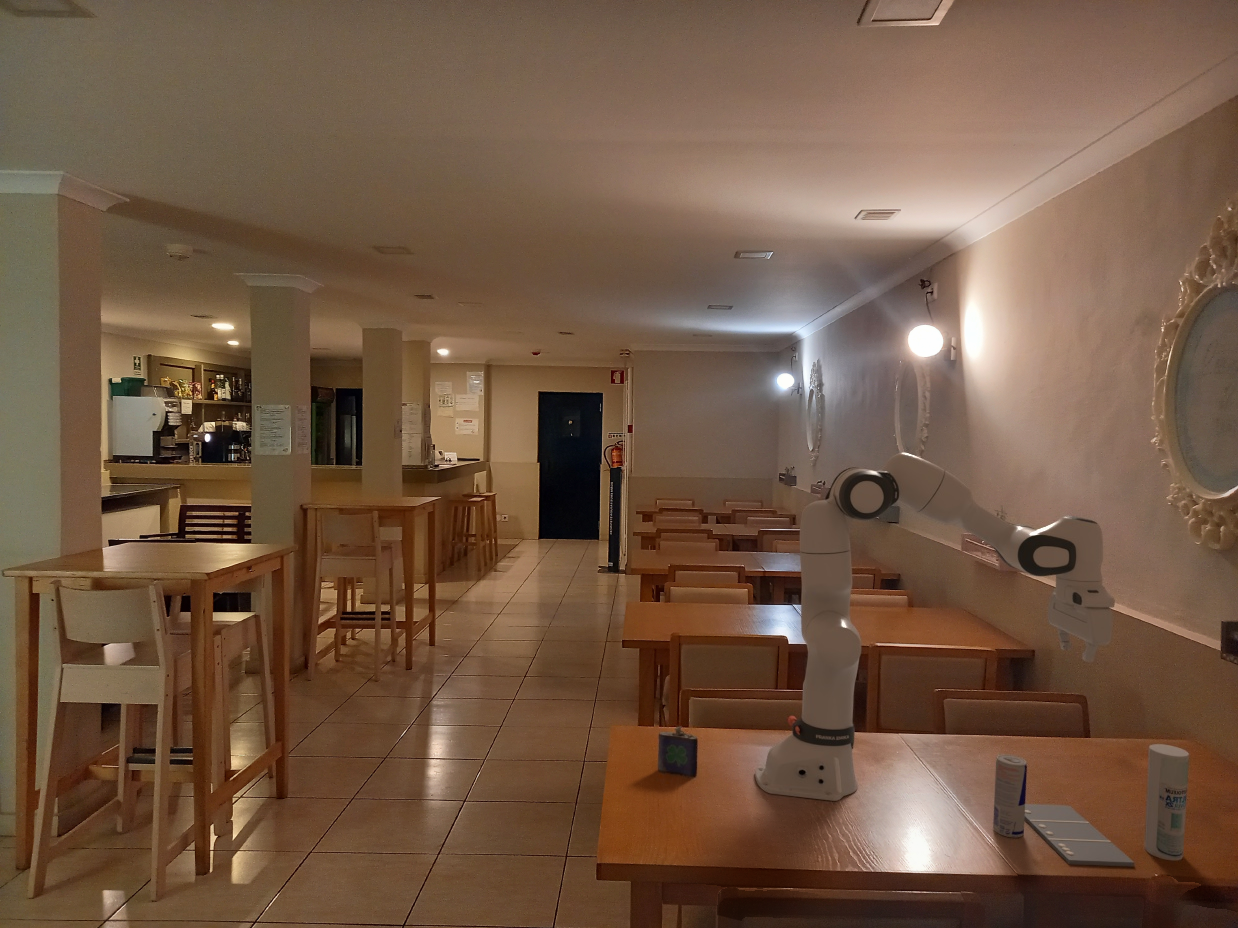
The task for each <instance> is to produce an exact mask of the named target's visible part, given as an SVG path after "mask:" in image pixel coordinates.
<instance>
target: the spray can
mask: <svg viewBox="0 0 1238 928" xmlns="http://www.w3.org/2000/svg"><path fill="white" fill-rule="evenodd" d="M1147 762H1148V763H1147V786H1146V787H1147V788H1146V790H1147V791H1146V804H1145V805H1146V807H1145V830H1144V850H1145V851H1146V852H1147V853H1148V854H1149V855H1152V856H1154V857H1156V858H1159V859H1161V860H1166V861H1167V860H1168V861H1180V860H1182V859H1183V857H1184V845H1185V844H1184V842H1185V829H1186V814H1187V813H1186V812H1187V797H1188V783H1189V782H1188V781H1189V770H1190V769H1189V766H1190V753H1189V752H1188V751H1187V750H1185V749H1184V748H1180V747H1177V746H1174V745H1170V744H1163V743H1162V744H1161V743H1156V744H1155V743H1154V744H1150V745H1149V746H1148V761H1147Z"/></svg>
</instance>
